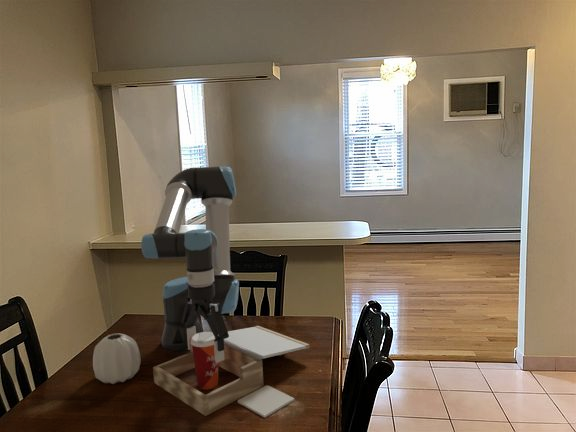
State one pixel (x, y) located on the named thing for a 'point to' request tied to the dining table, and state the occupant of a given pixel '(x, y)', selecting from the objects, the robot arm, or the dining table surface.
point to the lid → (262, 342)
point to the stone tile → (266, 401)
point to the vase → (116, 358)
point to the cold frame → (220, 397)
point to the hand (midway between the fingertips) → (205, 354)
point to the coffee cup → (205, 360)
